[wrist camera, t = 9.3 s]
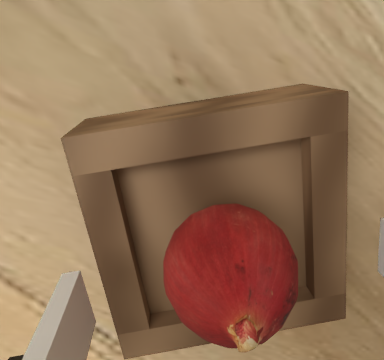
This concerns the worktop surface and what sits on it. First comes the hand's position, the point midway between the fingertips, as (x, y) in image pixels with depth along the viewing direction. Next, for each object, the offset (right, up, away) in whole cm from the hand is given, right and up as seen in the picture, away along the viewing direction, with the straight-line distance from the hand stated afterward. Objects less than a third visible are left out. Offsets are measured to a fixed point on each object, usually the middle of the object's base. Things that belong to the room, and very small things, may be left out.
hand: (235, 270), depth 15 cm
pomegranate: (-1, +1, +4) cm, 4 cm away
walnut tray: (-1, +3, +7) cm, 8 cm away
